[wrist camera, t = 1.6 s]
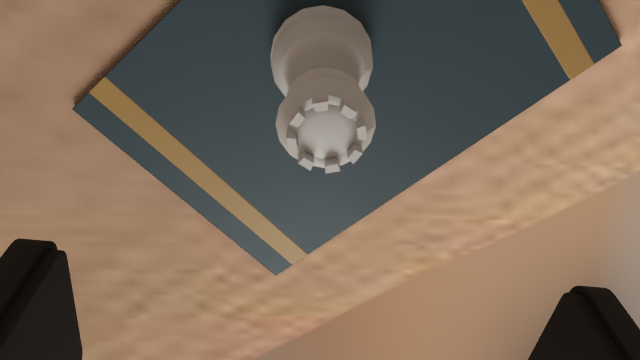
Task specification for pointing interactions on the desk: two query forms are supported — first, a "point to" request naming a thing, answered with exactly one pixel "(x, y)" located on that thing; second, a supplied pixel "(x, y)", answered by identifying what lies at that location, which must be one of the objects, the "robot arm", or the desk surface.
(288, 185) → the placemat
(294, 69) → the rook chess piece
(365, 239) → the desk surface
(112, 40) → the desk surface
